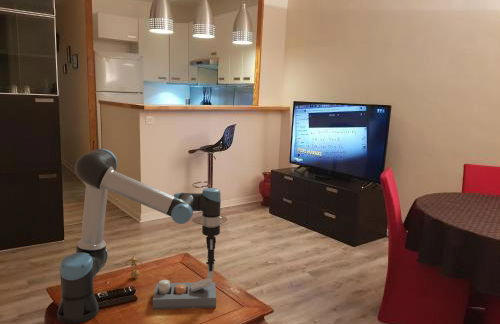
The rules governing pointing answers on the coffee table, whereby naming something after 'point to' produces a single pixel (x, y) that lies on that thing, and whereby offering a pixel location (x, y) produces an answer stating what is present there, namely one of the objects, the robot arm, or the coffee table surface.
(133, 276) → the figurine
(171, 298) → the grey slotted block
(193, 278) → the coffee table surface
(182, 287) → the button right
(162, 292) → the button left
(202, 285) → the block
